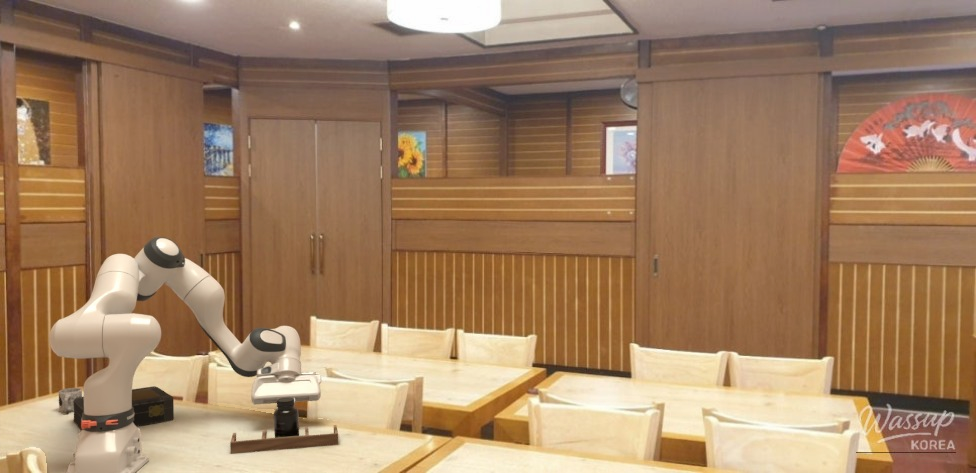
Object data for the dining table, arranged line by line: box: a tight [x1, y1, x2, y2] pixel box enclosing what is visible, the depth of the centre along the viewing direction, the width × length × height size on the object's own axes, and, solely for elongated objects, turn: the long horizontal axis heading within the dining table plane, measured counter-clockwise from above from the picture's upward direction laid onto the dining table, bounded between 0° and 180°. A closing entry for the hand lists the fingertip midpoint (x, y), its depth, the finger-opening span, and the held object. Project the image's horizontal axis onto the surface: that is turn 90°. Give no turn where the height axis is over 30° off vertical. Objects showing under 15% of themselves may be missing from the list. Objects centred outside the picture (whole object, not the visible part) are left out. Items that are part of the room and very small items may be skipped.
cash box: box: [73, 385, 175, 431], centre depth 231 cm, size 25×20×8 cm
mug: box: [58, 387, 83, 414], centre depth 241 cm, size 10×7×7 cm
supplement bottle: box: [273, 397, 300, 438], centre depth 209 cm, size 7×7×12 cm
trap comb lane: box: [229, 424, 339, 455], centre depth 211 cm, size 18×29×3 cm, turn 105°
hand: (286, 413), depth 218 cm, fingers closed
